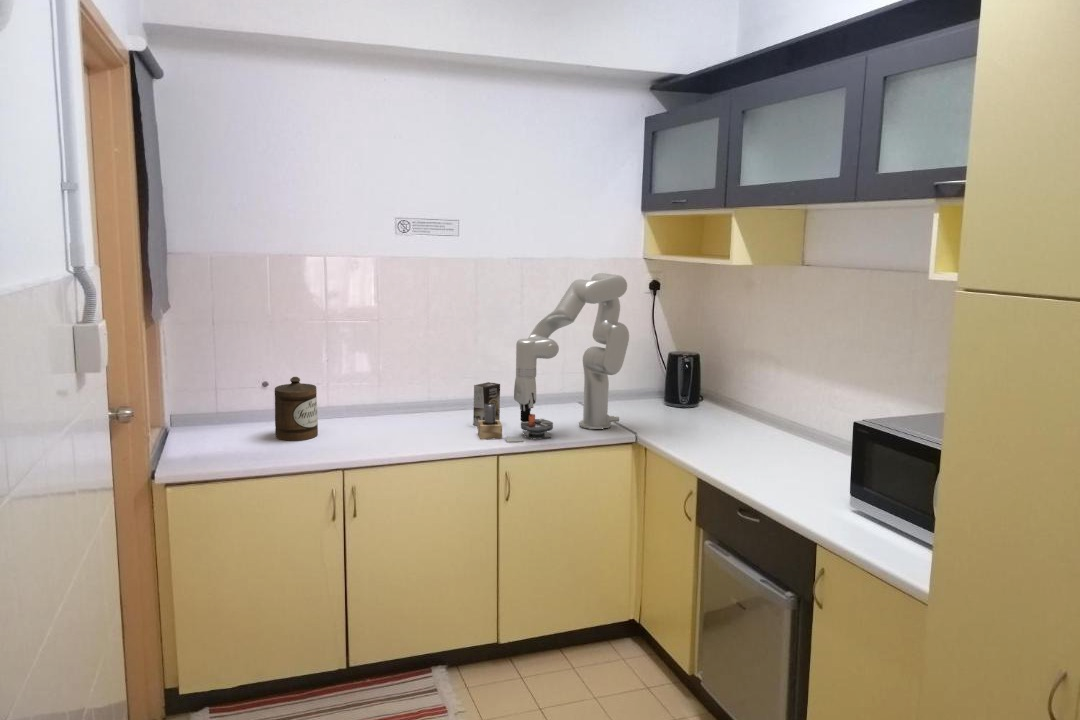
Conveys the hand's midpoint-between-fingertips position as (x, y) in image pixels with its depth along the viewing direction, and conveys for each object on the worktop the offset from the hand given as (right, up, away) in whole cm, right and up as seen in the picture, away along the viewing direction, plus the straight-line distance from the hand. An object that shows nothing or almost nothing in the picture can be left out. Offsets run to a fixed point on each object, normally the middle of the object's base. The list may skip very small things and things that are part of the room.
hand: (525, 420), depth 292 cm
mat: (-4, -7, -4) cm, 9 cm away
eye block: (-13, -6, +1) cm, 14 cm away
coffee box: (-16, -3, +18) cm, 24 cm away
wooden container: (-84, -5, -4) cm, 84 cm away
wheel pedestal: (+4, -6, +3) cm, 8 cm away
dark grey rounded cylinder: (-13, -6, +1) cm, 14 cm away
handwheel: (+4, -3, +2) cm, 6 cm away
